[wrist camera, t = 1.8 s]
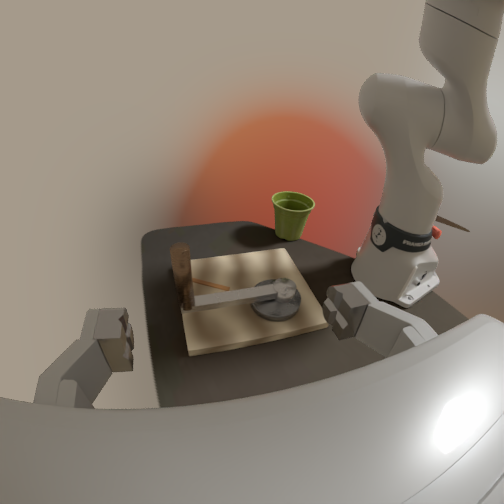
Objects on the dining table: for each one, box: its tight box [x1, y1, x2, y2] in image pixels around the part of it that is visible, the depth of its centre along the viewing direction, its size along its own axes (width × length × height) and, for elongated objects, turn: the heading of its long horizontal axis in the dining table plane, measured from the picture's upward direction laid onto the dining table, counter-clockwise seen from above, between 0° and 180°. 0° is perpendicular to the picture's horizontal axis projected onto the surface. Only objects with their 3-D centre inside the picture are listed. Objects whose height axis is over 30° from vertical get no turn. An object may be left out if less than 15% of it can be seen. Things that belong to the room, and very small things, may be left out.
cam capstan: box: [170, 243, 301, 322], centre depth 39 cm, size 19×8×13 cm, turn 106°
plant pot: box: [272, 192, 315, 241], centre depth 62 cm, size 9×9×9 cm
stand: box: [182, 248, 329, 356], centre depth 47 cm, size 22×20×2 cm
